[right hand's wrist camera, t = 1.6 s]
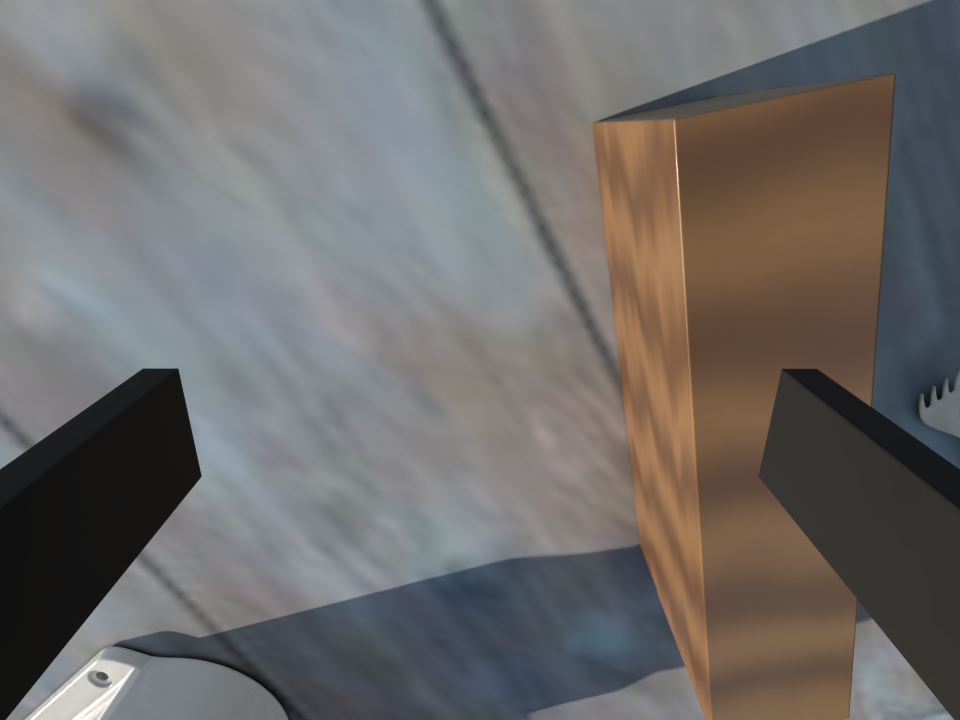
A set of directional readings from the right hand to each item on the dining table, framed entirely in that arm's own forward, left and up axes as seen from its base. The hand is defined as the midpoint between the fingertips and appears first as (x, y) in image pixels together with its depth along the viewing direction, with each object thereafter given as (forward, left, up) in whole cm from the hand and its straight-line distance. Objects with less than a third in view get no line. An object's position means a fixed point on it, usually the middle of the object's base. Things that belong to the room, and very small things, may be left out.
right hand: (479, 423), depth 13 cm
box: (-1, +12, -18) cm, 22 cm away
